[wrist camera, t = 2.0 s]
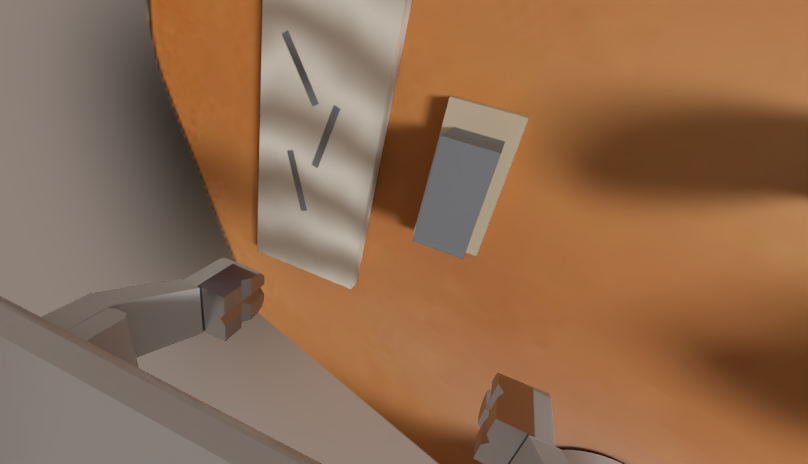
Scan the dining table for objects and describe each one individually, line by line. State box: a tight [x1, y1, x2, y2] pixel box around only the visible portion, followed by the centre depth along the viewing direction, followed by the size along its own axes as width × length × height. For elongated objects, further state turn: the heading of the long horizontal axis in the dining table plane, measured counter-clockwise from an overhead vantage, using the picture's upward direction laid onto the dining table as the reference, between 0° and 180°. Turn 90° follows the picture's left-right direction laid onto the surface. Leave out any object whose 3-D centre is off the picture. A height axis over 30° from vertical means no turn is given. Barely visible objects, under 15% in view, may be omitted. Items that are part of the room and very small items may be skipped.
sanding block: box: [412, 96, 529, 259], centre depth 26 cm, size 12×6×7 cm, turn 167°
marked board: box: [257, 0, 412, 289], centre depth 31 cm, size 30×12×2 cm, turn 167°
